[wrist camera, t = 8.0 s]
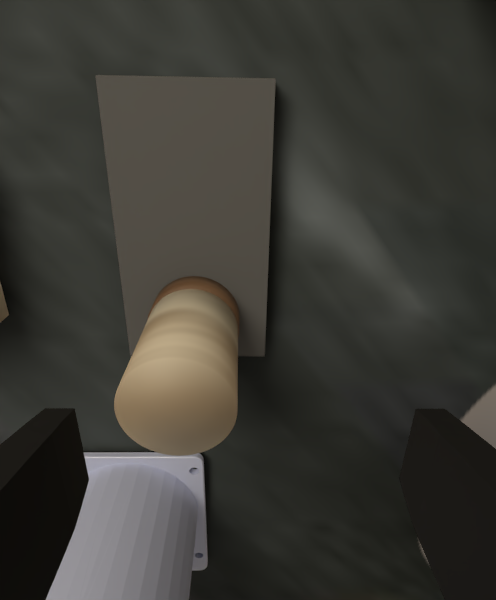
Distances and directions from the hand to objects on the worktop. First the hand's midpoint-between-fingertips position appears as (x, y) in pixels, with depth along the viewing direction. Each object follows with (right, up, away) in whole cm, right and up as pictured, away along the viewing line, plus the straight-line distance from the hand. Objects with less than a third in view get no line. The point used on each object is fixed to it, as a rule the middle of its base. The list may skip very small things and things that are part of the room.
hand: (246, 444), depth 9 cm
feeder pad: (-2, +6, +8) cm, 10 cm away
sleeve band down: (-2, +2, +9) cm, 9 cm away
